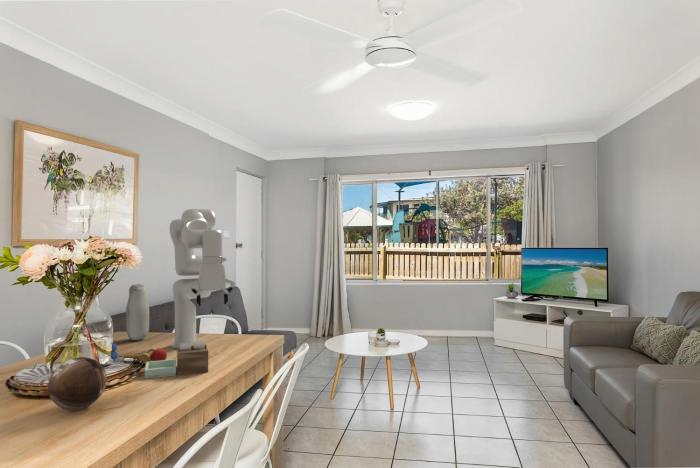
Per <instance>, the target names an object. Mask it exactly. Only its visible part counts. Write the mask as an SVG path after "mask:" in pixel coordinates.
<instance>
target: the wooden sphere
mask: <svg viewBox="0 0 700 468" xmlns="http://www.w3.org/2000/svg"><path fill="white" fill-rule="evenodd" d="M107 382H108V381H107V373H106V370H105V368H104V366H103V365H101V364H100V363H99V361H98V360H94V359H93V358H90V357H84V356H81V357H79V356H78V357H74V358H70V359H68V360H65V361H64V362H63V363H61V364H59V365H58V367H56V368H55V370H53V371H52V373H51V375H50V378H49V380H48V383H47V392H48V396H49V398H50V399H51V401H52V402H53V404H55V405H56V406H58V407H59V408H61V409H64V410H67V411H76V410H81V409H84V408H87V407H88V406H91V405H92V404H94V403H95V402H96V401H98V399H100V397H101V396H102V395H103V393H104V390H105V389H106V385H107Z"/></svg>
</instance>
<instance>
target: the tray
mask: <svg viewBox="0 0 700 468" xmlns="http://www.w3.org/2000/svg"><path fill="white" fill-rule="evenodd" d="M173 376H177V358H175V359H174V358H173V359H166V360H161V361H152V360H151V361H150V362H147V363H146V365H145V368H144V379H146V380H147V379H153V378H154V379H155V378H163V377H173Z"/></svg>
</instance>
